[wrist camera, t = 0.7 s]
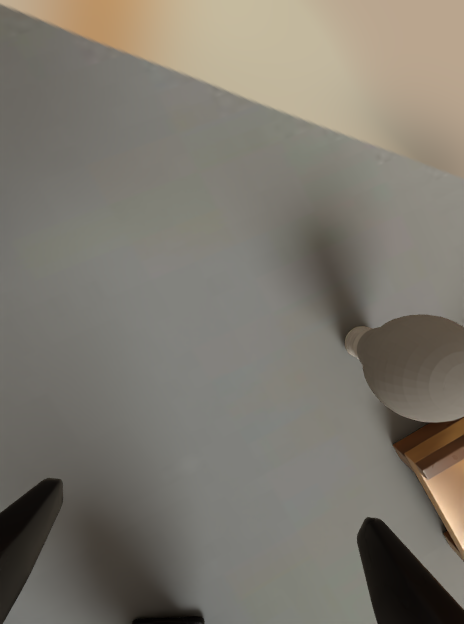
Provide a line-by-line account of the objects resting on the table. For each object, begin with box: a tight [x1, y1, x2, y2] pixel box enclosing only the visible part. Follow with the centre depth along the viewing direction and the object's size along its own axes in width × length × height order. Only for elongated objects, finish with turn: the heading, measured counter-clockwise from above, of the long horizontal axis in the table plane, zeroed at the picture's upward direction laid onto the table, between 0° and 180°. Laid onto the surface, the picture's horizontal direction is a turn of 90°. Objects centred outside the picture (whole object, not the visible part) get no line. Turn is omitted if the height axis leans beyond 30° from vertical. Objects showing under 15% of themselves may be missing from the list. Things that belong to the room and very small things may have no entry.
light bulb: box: [345, 315, 464, 423], centre depth 17 cm, size 6×6×10 cm
